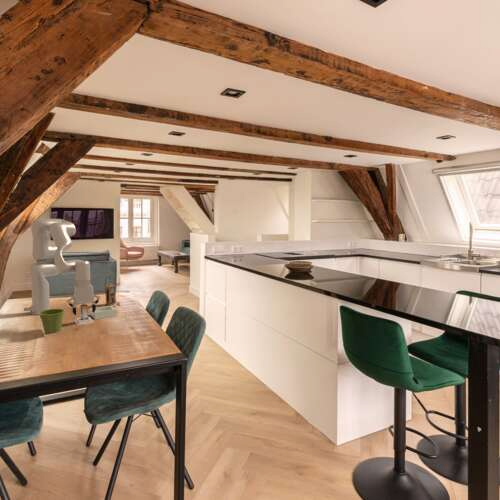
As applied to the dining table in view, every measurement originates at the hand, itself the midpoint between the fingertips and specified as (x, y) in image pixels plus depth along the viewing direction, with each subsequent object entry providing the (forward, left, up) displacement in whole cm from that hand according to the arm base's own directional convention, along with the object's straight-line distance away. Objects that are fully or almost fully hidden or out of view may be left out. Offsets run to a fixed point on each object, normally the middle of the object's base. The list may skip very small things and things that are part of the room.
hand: (84, 313), depth 203 cm
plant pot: (-17, -9, -6) cm, 20 cm away
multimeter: (+27, +36, -6) cm, 45 cm away
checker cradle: (0, 0, -6) cm, 6 cm away
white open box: (+12, +8, -6) cm, 15 cm away
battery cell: (0, 0, -5) cm, 5 cm away
